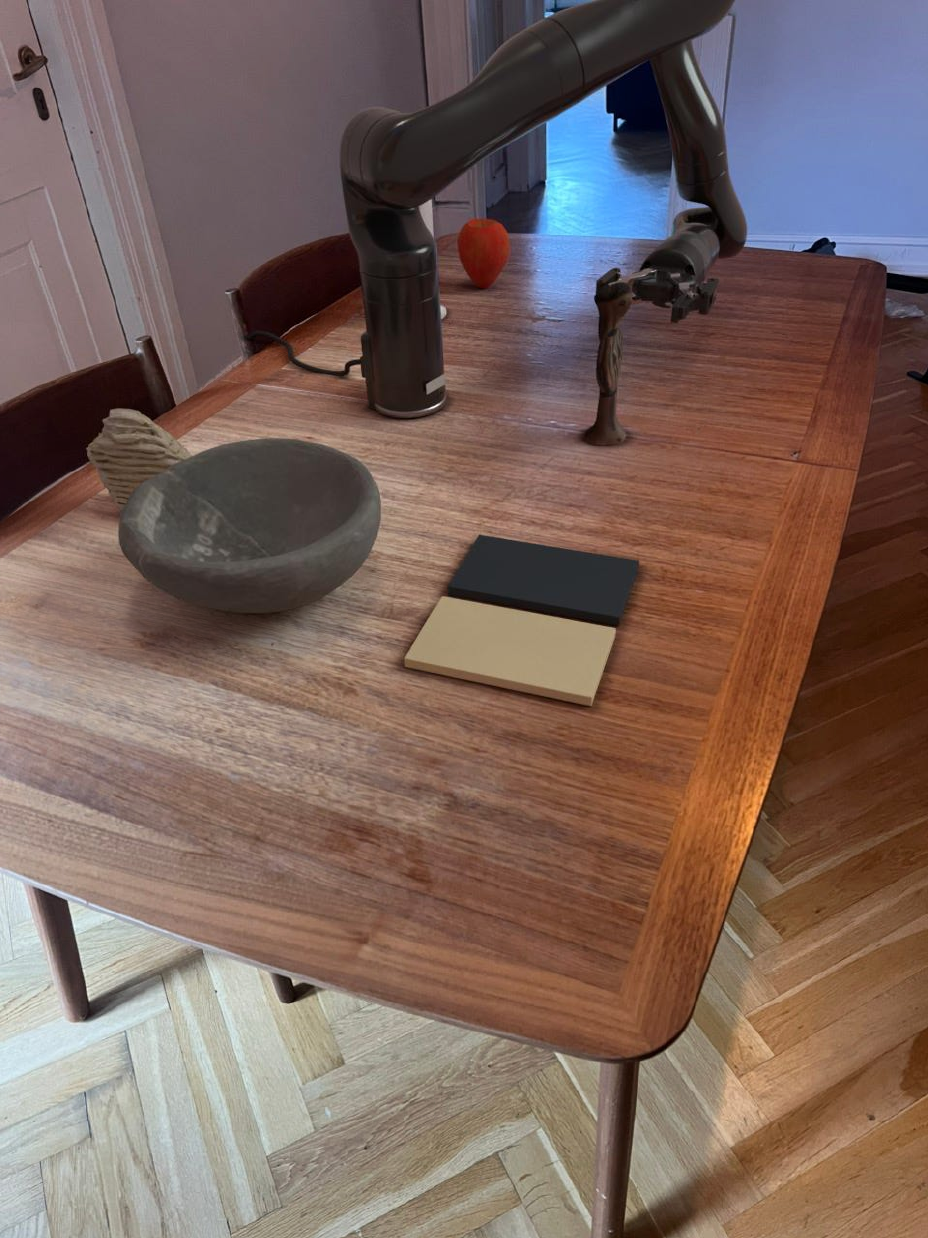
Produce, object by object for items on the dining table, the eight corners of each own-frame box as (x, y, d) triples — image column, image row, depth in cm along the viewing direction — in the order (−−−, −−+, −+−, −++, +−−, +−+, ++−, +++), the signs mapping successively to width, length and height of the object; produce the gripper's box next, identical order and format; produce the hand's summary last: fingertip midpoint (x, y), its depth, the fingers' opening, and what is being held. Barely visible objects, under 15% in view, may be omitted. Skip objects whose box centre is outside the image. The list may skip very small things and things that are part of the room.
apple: (519, 282, 149) (519, 214, 142) (493, 298, 144) (492, 227, 137) (476, 275, 153) (474, 208, 146) (449, 290, 148) (445, 221, 141)
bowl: (280, 695, 72) (257, 598, 66) (97, 612, 82) (61, 520, 76) (435, 554, 87) (428, 463, 81) (264, 497, 97) (246, 413, 91)
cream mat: (404, 667, 74) (403, 658, 74) (442, 604, 81) (441, 595, 80) (591, 706, 70) (591, 697, 69) (615, 636, 76) (616, 627, 76)
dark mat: (448, 594, 82) (447, 586, 81) (479, 542, 89) (479, 534, 88) (618, 626, 77) (619, 617, 77) (638, 568, 84) (639, 560, 83)
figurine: (616, 455, 101) (628, 297, 90) (574, 449, 103) (580, 293, 92) (631, 427, 107) (644, 274, 95) (591, 421, 108) (599, 271, 97)
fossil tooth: (212, 540, 93) (88, 511, 96) (240, 507, 98) (120, 480, 100) (193, 446, 85) (58, 417, 88) (225, 414, 90) (95, 388, 93)
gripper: (626, 233, 116) (583, 271, 105) (735, 243, 111) (702, 284, 100) (622, 291, 121) (580, 333, 110) (727, 303, 115) (694, 349, 104)
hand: (638, 310), depth 105 cm, fingers open, 8 cm apart
